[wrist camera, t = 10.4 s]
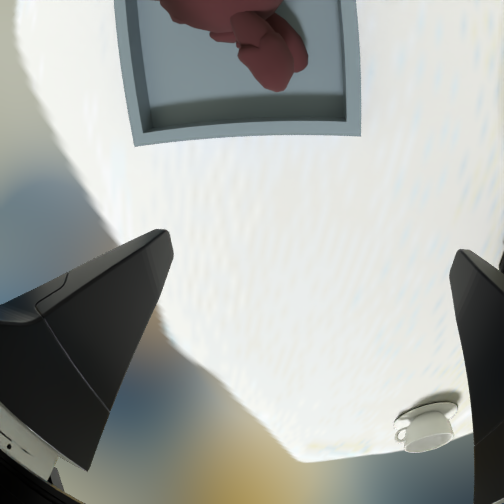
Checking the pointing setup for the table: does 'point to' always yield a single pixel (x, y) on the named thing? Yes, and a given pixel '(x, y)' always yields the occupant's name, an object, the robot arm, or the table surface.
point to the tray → (236, 77)
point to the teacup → (426, 427)
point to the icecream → (248, 35)
